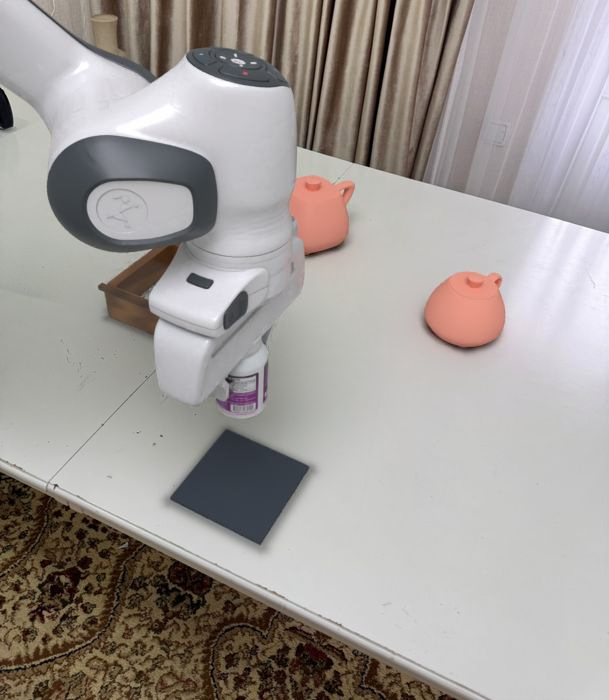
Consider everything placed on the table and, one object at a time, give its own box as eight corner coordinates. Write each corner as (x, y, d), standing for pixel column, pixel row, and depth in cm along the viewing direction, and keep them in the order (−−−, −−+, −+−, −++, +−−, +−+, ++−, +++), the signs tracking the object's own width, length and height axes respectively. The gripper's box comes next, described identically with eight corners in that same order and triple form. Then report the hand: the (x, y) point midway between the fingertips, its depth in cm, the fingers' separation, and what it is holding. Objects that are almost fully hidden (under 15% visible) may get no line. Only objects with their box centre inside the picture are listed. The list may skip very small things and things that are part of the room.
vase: (97, 155, 135) (71, 1, 115) (173, 161, 135) (160, 9, 115) (72, 191, 123) (39, 26, 103) (157, 198, 123) (139, 34, 103)
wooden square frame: (103, 315, 96) (97, 285, 92) (171, 260, 108) (169, 232, 104) (197, 354, 90) (195, 324, 87) (258, 292, 102) (259, 264, 99)
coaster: (170, 499, 72) (169, 497, 71) (226, 430, 80) (226, 428, 80) (260, 545, 68) (260, 543, 68) (309, 468, 76) (309, 465, 76)
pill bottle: (235, 376, 67) (234, 306, 61) (276, 396, 65) (279, 326, 59) (204, 407, 64) (199, 336, 57) (247, 429, 62) (247, 358, 55)
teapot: (240, 236, 115) (239, 175, 106) (329, 212, 123) (335, 154, 115) (276, 273, 107) (279, 210, 98) (369, 245, 115) (378, 184, 107)
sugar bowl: (405, 323, 99) (417, 270, 92) (461, 293, 106) (476, 241, 99) (465, 366, 92) (483, 312, 85) (521, 330, 99) (541, 278, 92)
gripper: (267, 197, 61) (264, 308, 70) (133, 308, 47) (151, 428, 56) (325, 215, 59) (314, 327, 68) (203, 336, 45) (210, 456, 54)
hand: (240, 374), depth 62 cm, fingers closed on pill bottle, 5 cm apart
